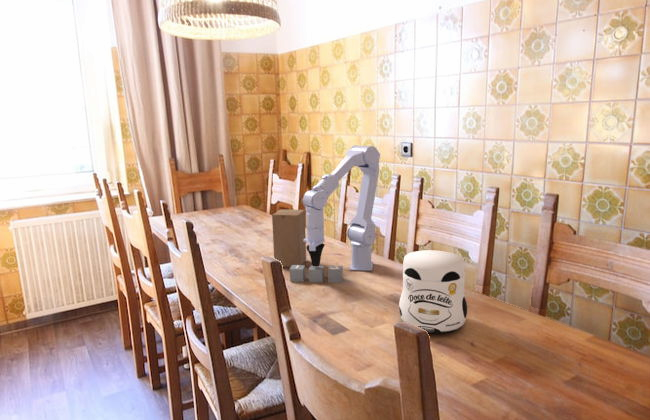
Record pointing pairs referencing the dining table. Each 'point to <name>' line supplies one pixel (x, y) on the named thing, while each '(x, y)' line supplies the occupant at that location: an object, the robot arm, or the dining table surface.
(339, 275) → the block marked 7
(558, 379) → the dining table surface
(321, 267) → the plain block
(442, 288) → the milk container
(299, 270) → the block marked 1
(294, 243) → the wooden block
